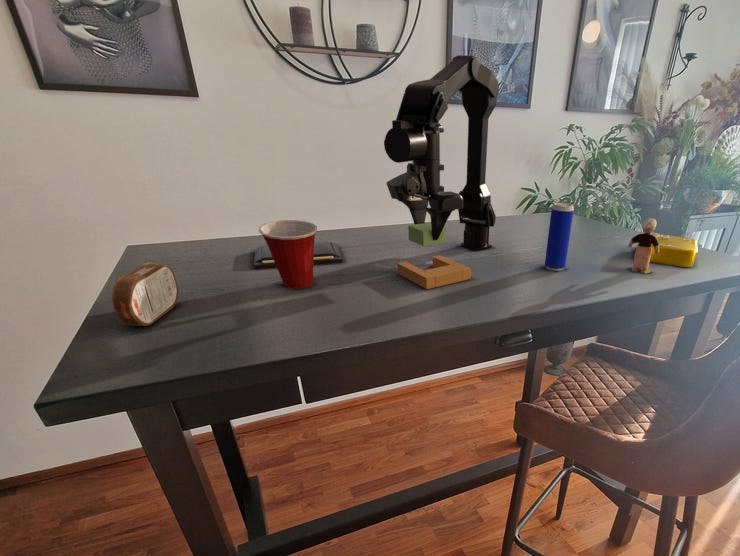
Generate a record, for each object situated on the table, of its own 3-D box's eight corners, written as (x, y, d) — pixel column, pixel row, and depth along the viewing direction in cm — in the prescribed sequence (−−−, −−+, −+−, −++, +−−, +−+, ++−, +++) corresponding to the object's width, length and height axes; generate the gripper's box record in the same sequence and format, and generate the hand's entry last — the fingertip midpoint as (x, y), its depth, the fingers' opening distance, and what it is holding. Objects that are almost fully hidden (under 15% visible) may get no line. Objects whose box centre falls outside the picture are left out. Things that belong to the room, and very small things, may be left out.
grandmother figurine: (654, 271, 112) (668, 219, 105) (653, 275, 109) (666, 222, 102) (624, 266, 114) (635, 214, 107) (621, 270, 111) (633, 217, 104)
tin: (169, 299, 84) (153, 255, 79) (187, 299, 84) (172, 255, 79) (122, 335, 71) (100, 285, 67) (143, 335, 71) (122, 285, 67)
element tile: (633, 260, 119) (637, 242, 116) (638, 246, 131) (642, 230, 128) (692, 268, 115) (698, 250, 112) (692, 254, 126) (697, 237, 124)
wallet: (336, 238, 117) (342, 255, 105) (337, 245, 118) (343, 263, 106) (254, 242, 111) (250, 260, 99) (256, 250, 112) (252, 268, 100)
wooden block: (440, 265, 108) (440, 254, 107) (470, 279, 101) (470, 268, 99) (397, 273, 102) (397, 263, 100) (426, 289, 94) (426, 278, 93)
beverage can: (564, 265, 112) (573, 203, 104) (565, 272, 108) (575, 207, 100) (544, 264, 113) (551, 201, 104) (544, 270, 108) (552, 205, 100)
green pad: (430, 236, 102) (430, 222, 100) (446, 242, 98) (446, 227, 97) (408, 240, 99) (408, 225, 97) (423, 246, 95) (423, 231, 93)
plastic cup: (274, 297, 87) (260, 235, 81) (268, 279, 95) (255, 221, 88) (330, 289, 91) (321, 230, 85) (320, 273, 99) (311, 218, 93)
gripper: (368, 154, 91) (374, 231, 100) (417, 166, 79) (419, 252, 88) (414, 153, 97) (416, 226, 106) (465, 163, 86) (463, 244, 94)
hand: (427, 236), depth 98 cm, fingers closed on green pad, 6 cm apart
